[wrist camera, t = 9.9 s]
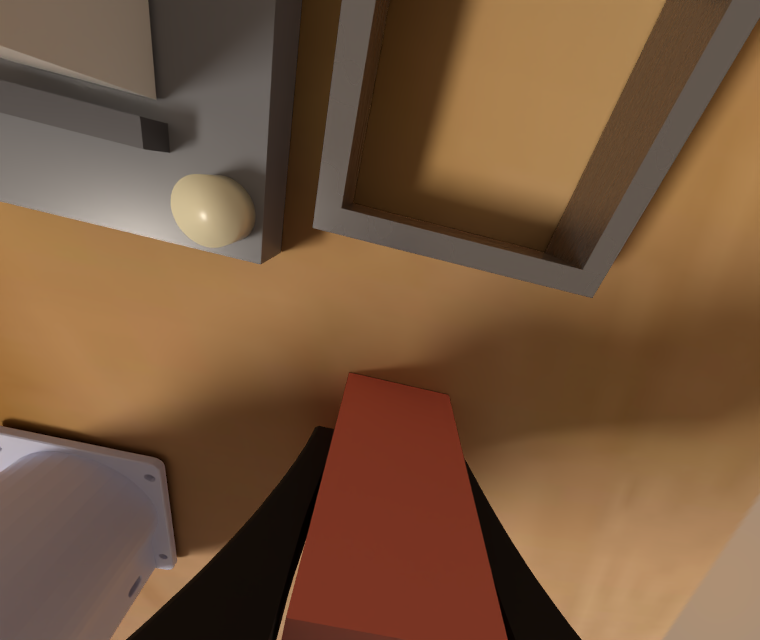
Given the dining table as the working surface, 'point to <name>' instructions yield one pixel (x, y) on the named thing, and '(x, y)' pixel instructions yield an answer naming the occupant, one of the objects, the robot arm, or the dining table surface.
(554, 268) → the frame
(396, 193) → the dining table surface
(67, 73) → the switch
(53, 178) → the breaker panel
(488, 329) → the dining table surface
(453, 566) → the peg
